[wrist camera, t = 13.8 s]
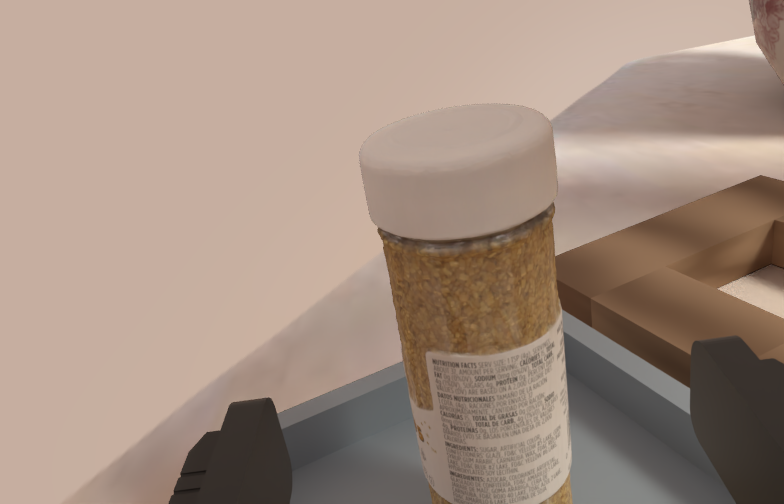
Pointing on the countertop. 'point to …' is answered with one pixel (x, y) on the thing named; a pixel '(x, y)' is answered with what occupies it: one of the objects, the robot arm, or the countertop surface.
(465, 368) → the spice jar
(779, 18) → the chamber pot
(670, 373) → the socket board
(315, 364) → the countertop surface
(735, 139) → the countertop surface
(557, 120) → the countertop surface
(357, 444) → the parts tray
